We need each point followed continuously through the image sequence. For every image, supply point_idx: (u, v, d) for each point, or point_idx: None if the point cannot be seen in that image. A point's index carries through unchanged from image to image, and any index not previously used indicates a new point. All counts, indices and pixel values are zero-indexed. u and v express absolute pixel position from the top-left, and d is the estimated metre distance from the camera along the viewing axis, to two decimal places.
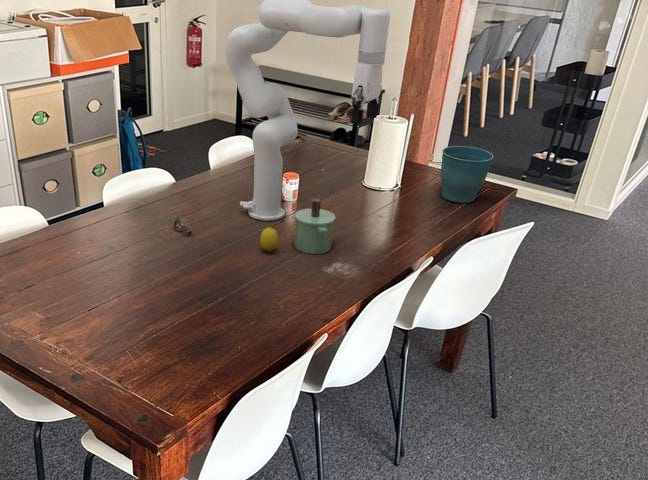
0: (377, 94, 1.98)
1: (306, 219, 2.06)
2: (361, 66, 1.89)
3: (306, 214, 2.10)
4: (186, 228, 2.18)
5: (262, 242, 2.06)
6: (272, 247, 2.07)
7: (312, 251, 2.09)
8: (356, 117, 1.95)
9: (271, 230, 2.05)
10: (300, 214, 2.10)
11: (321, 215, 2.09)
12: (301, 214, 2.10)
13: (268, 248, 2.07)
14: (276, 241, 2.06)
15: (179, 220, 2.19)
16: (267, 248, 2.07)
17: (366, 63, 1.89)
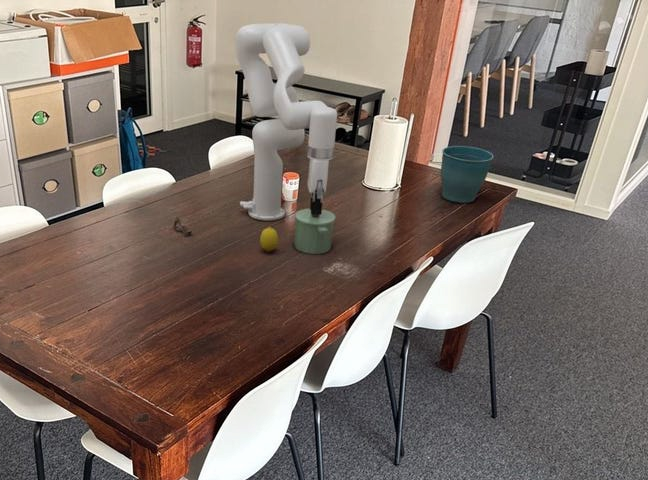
0: None
1: (306, 219, 2.06)
2: (319, 162, 1.95)
3: (306, 214, 2.10)
4: (186, 228, 2.18)
5: (262, 242, 2.06)
6: (272, 247, 2.07)
7: (312, 251, 2.09)
8: (317, 209, 2.05)
9: (271, 230, 2.05)
10: (300, 214, 2.10)
11: (321, 215, 2.09)
12: (301, 214, 2.10)
13: (268, 248, 2.07)
14: (276, 241, 2.06)
15: (179, 220, 2.19)
16: (267, 248, 2.07)
17: (323, 159, 1.96)
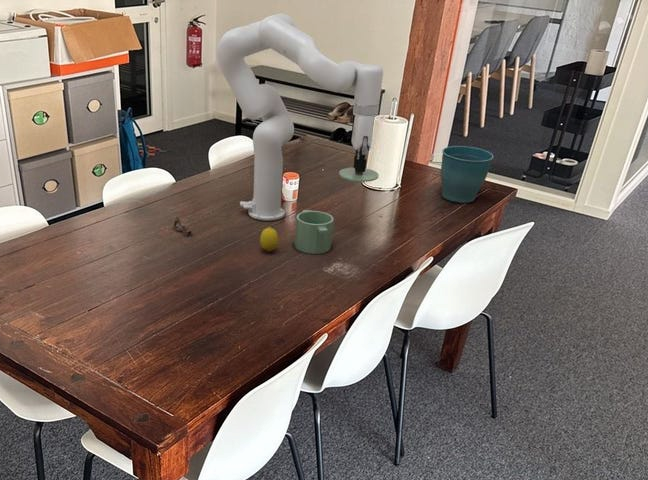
0: None
1: (350, 176, 2.12)
2: (365, 119, 2.01)
3: (350, 172, 2.16)
4: (186, 228, 2.18)
5: (262, 242, 2.06)
6: (272, 247, 2.07)
7: (312, 251, 2.09)
8: (361, 166, 2.11)
9: (271, 230, 2.05)
10: (344, 172, 2.15)
11: (364, 173, 2.15)
12: (345, 172, 2.16)
13: (268, 248, 2.07)
14: (276, 241, 2.06)
15: (179, 220, 2.19)
16: (267, 248, 2.07)
17: (368, 115, 2.02)
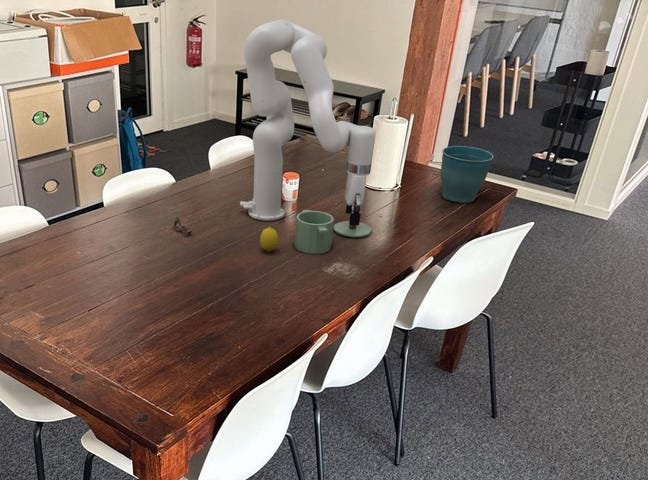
0: None
1: (345, 231, 2.22)
2: (357, 177, 2.11)
3: (344, 226, 2.26)
4: (186, 228, 2.18)
5: (262, 242, 2.06)
6: (272, 247, 2.07)
7: (312, 251, 2.09)
8: (355, 220, 2.18)
9: (271, 230, 2.05)
10: (338, 226, 2.26)
11: (358, 228, 2.25)
12: (339, 226, 2.26)
13: (268, 248, 2.07)
14: (276, 241, 2.06)
15: (179, 220, 2.19)
16: (267, 248, 2.07)
17: (361, 174, 2.12)
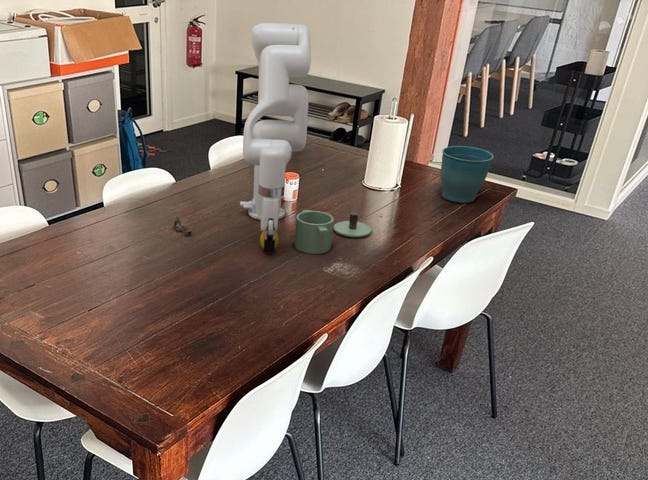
0: None
1: (345, 231, 2.22)
2: (269, 201, 1.97)
3: (344, 226, 2.26)
4: (186, 228, 2.18)
5: (262, 242, 2.06)
6: None
7: (312, 251, 2.09)
8: (270, 247, 2.05)
9: None
10: (338, 226, 2.26)
11: (358, 228, 2.25)
12: (339, 226, 2.26)
13: None
14: (276, 241, 2.06)
15: (179, 220, 2.19)
16: None
17: (273, 198, 1.97)
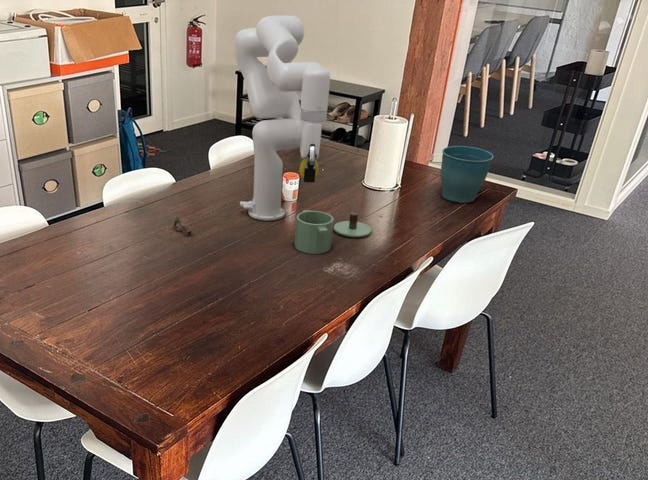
0: None
1: (345, 231, 2.22)
2: (311, 125, 1.89)
3: (344, 226, 2.26)
4: (186, 228, 2.18)
5: (302, 172, 1.99)
6: None
7: (312, 251, 2.09)
8: (310, 176, 1.97)
9: None
10: (338, 226, 2.26)
11: (358, 228, 2.25)
12: (339, 226, 2.26)
13: None
14: (316, 171, 1.99)
15: (179, 220, 2.19)
16: None
17: (315, 122, 1.89)
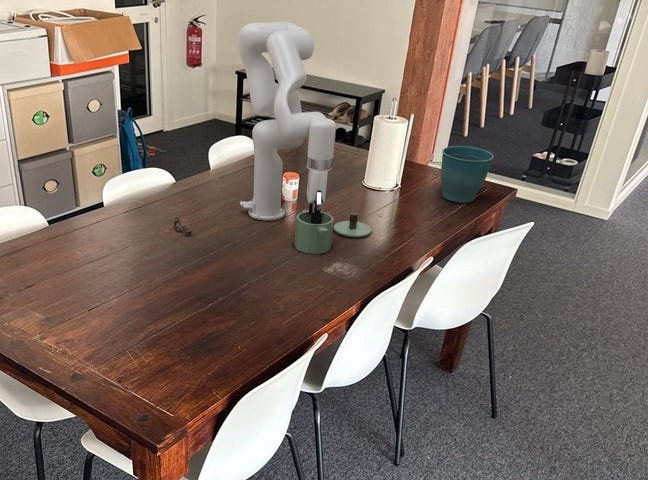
0: None
1: (345, 231, 2.22)
2: (318, 173, 1.97)
3: (344, 226, 2.26)
4: (186, 228, 2.18)
5: None
6: None
7: (312, 251, 2.09)
8: (317, 220, 2.05)
9: None
10: (338, 226, 2.26)
11: (358, 228, 2.25)
12: (339, 226, 2.26)
13: None
14: None
15: (179, 220, 2.19)
16: None
17: (322, 170, 1.98)
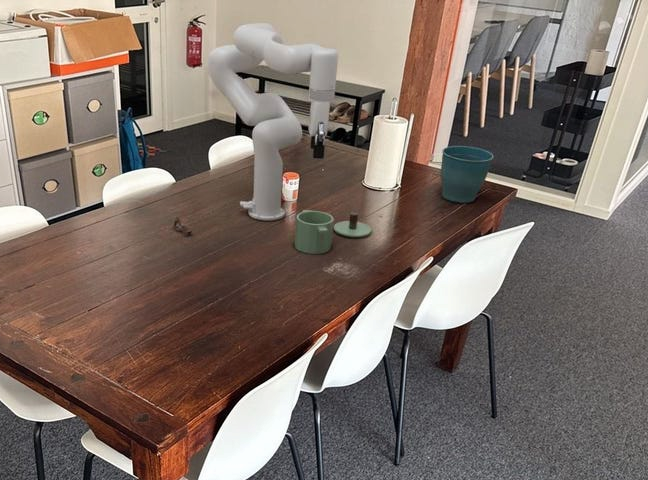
0: None
1: (345, 231, 2.22)
2: (320, 104, 1.96)
3: (344, 226, 2.26)
4: (186, 228, 2.18)
5: None
6: None
7: (312, 251, 2.09)
8: (319, 152, 2.03)
9: None
10: (338, 226, 2.26)
11: (358, 228, 2.25)
12: (339, 226, 2.26)
13: None
14: None
15: (179, 220, 2.19)
16: None
17: (324, 101, 1.97)
